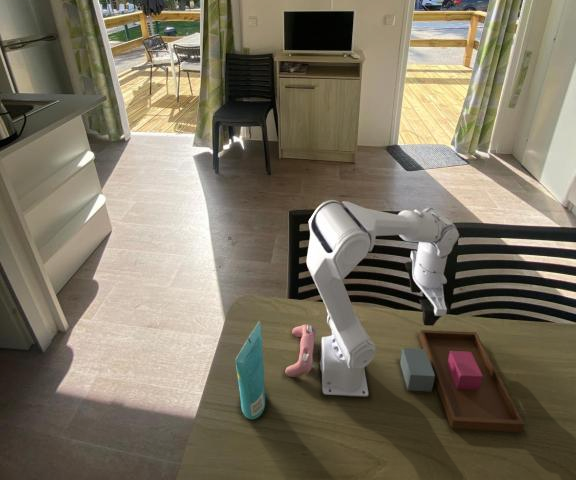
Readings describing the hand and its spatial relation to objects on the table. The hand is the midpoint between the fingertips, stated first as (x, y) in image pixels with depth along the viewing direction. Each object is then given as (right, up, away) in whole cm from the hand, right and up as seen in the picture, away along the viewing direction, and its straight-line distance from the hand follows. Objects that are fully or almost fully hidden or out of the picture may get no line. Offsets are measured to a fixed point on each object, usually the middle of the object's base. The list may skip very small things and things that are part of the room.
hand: (421, 306), depth 69 cm
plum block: (+7, -12, -5) cm, 14 cm away
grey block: (-3, -12, -4) cm, 13 cm away
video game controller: (-28, -11, 0) cm, 30 cm away
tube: (-38, -14, -9) cm, 42 cm away
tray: (+7, -12, -5) cm, 15 cm away
